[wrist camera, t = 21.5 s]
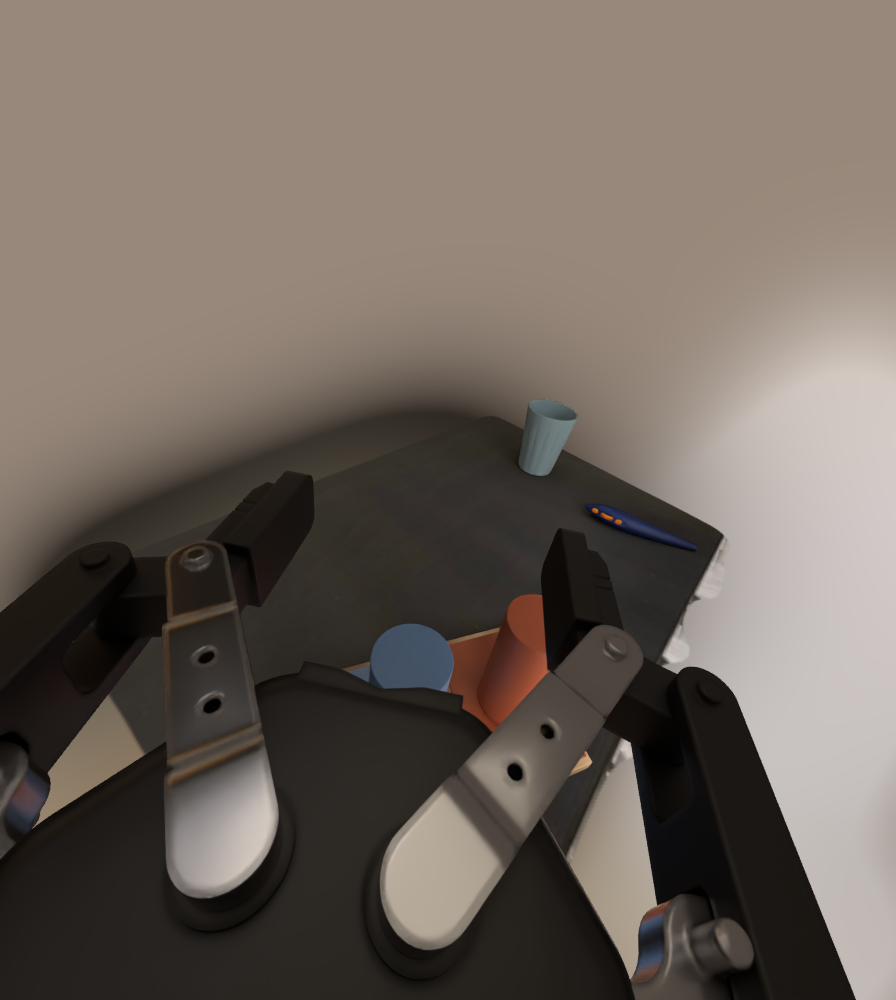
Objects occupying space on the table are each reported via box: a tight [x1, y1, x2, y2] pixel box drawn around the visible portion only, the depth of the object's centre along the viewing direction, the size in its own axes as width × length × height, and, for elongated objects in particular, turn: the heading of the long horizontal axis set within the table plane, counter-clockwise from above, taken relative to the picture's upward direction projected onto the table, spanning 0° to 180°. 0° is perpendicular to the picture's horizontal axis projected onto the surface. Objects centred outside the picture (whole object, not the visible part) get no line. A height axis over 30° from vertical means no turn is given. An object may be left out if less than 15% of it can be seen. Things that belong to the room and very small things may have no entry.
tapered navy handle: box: [585, 504, 697, 551], centre depth 58 cm, size 16×4×2 cm, turn 70°
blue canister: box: [369, 624, 454, 692], centre depth 28 cm, size 5×5×10 cm
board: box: [343, 627, 592, 777], centre depth 33 cm, size 17×13×1 cm
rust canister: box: [478, 594, 549, 724], centre depth 31 cm, size 5×5×10 cm
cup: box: [519, 399, 578, 476], centre depth 66 cm, size 8×8×10 cm
